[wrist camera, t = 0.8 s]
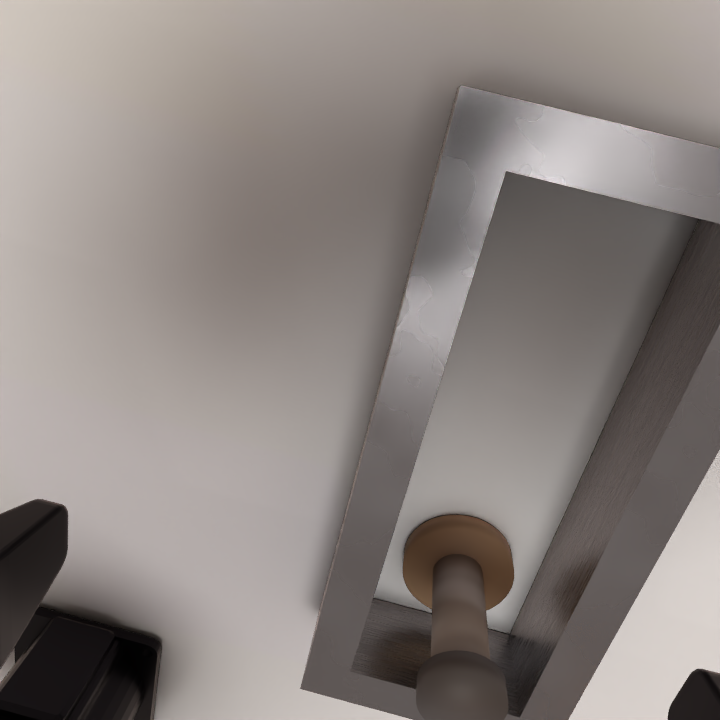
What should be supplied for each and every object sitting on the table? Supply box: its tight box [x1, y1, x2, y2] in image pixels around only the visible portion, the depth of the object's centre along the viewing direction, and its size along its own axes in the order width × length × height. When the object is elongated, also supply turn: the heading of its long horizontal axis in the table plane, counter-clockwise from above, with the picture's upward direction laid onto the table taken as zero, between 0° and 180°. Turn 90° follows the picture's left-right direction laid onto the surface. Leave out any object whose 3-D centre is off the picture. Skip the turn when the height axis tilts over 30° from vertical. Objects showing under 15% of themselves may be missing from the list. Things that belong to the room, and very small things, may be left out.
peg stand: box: [403, 515, 514, 720], centre depth 20 cm, size 4×4×6 cm
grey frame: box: [300, 85, 720, 720], centre depth 19 cm, size 20×9×4 cm, turn 168°
